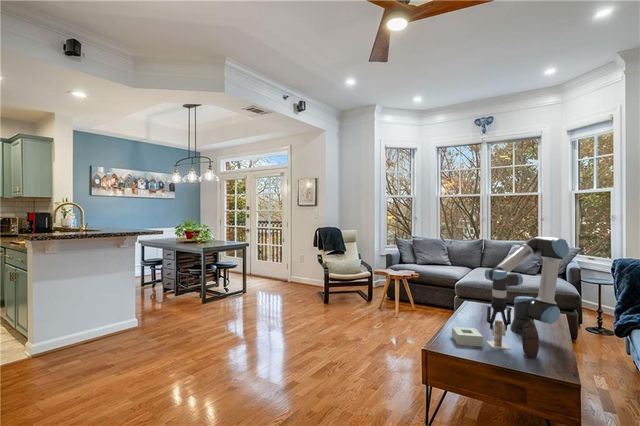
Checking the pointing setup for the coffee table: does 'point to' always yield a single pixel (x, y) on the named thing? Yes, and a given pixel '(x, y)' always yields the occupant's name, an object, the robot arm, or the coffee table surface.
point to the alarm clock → (530, 340)
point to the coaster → (497, 346)
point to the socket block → (467, 336)
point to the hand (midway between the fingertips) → (498, 335)
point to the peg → (498, 333)
